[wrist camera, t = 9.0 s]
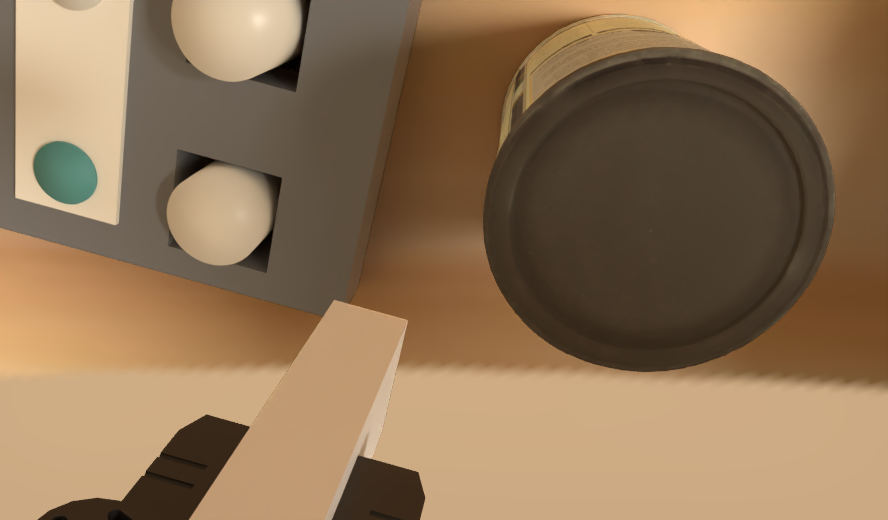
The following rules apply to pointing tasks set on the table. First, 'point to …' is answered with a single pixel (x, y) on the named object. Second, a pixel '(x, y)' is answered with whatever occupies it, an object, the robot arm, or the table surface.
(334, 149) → the button board
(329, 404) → the robot arm
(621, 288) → the coffee can
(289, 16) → the middle button
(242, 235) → the end button
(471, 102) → the table surface
